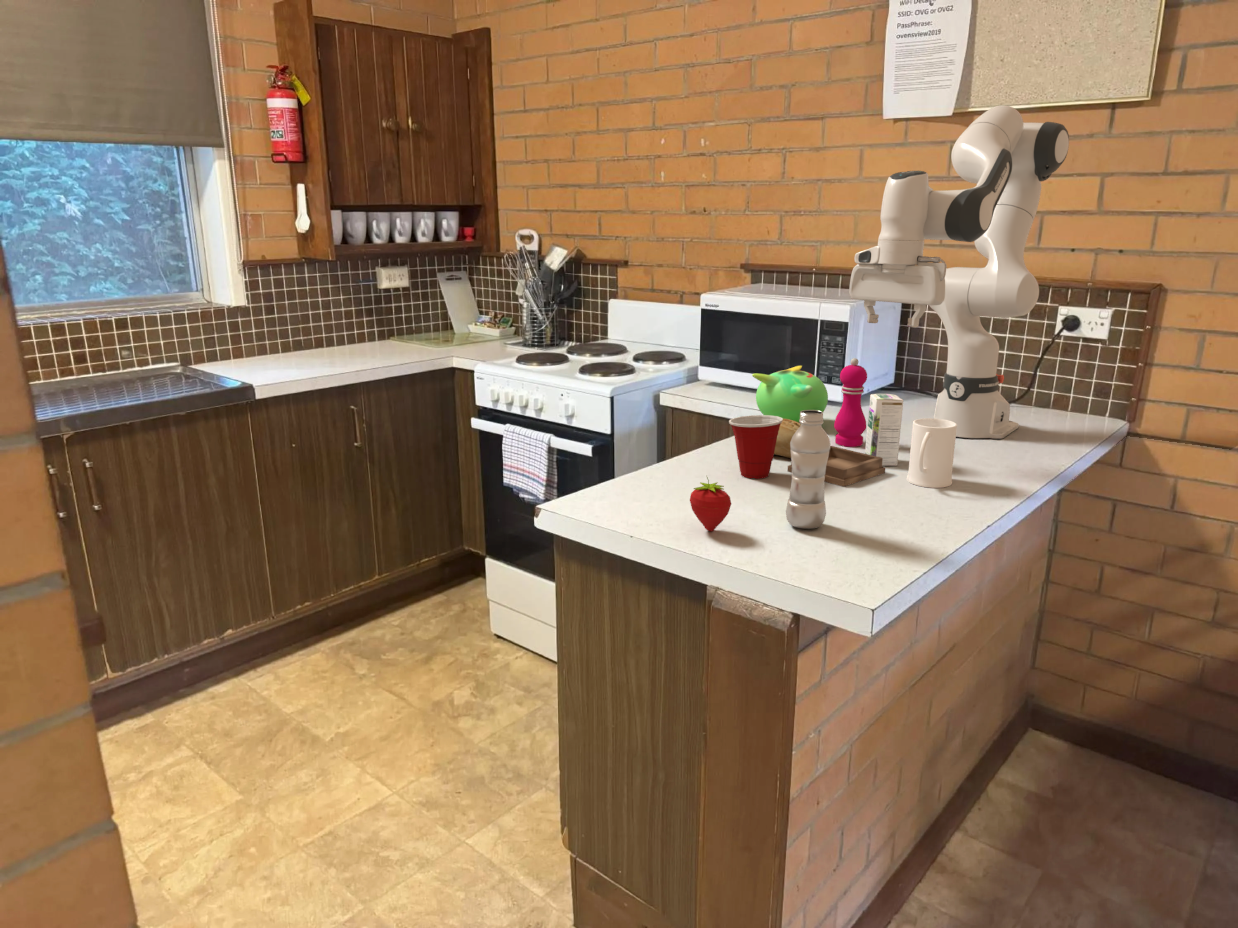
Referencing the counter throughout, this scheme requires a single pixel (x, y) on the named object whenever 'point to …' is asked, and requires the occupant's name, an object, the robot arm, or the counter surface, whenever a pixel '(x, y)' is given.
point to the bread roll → (785, 437)
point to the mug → (932, 453)
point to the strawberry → (710, 504)
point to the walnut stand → (850, 466)
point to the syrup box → (884, 427)
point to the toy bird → (790, 393)
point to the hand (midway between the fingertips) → (892, 325)
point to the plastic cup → (755, 443)
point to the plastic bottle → (808, 472)
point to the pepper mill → (851, 406)
